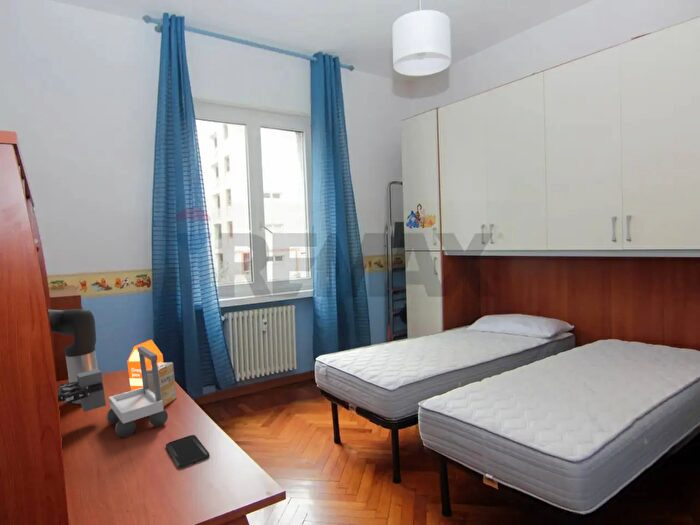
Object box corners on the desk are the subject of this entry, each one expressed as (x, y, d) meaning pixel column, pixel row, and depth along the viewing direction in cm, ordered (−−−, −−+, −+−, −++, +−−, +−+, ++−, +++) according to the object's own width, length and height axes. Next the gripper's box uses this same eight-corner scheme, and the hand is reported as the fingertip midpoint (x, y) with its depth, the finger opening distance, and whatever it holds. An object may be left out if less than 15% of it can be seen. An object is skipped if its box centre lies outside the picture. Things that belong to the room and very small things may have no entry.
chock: (81, 407, 137) (76, 374, 136) (103, 401, 140) (98, 368, 139) (84, 411, 133) (79, 377, 132) (106, 405, 137) (101, 371, 136)
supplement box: (163, 408, 144) (158, 370, 143) (150, 408, 145) (145, 370, 144) (177, 398, 152) (173, 361, 151) (165, 398, 153) (161, 362, 152)
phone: (194, 434, 122) (210, 454, 109) (194, 437, 122) (211, 458, 110) (164, 443, 117) (178, 466, 105) (164, 447, 117) (178, 471, 105)
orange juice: (167, 392, 158) (161, 339, 156) (150, 402, 150) (143, 346, 148) (149, 392, 160) (142, 339, 158) (131, 402, 152) (124, 346, 150)
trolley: (106, 423, 135) (97, 355, 134) (153, 408, 144) (145, 344, 142) (119, 442, 122) (109, 367, 120) (170, 425, 130) (162, 354, 128)
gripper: (35, 395, 121) (103, 377, 132) (31, 383, 132) (95, 367, 143) (39, 421, 122) (107, 401, 133) (35, 406, 133) (98, 389, 144)
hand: (100, 384), depth 138 cm, fingers closed on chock, 4 cm apart
